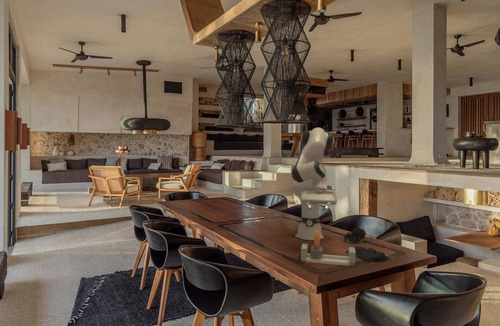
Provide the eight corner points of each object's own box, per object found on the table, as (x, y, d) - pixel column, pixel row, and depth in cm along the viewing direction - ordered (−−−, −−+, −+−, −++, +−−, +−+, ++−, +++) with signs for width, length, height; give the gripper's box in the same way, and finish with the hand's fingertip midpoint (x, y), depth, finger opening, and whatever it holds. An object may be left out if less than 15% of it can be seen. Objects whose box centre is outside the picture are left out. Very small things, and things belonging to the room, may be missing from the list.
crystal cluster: (339, 242, 244) (340, 227, 242) (348, 236, 254) (349, 222, 252) (358, 247, 235) (359, 232, 234) (367, 242, 245) (368, 227, 244)
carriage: (311, 251, 208) (311, 228, 207) (322, 252, 207) (323, 228, 206) (310, 255, 200) (311, 231, 199) (322, 256, 199) (322, 232, 198)
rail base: (302, 256, 210) (302, 243, 210) (353, 260, 204) (354, 247, 204) (300, 261, 200) (301, 248, 200) (355, 266, 194) (355, 252, 194)
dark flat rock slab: (363, 250, 226) (363, 242, 226) (391, 260, 206) (391, 252, 206) (343, 252, 219) (343, 244, 219) (370, 264, 199) (370, 255, 199)
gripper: (300, 185, 218) (299, 205, 209) (337, 187, 214) (336, 207, 205) (301, 192, 223) (299, 211, 214) (336, 193, 218) (336, 213, 209)
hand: (318, 209), depth 209 cm, fingers open, 8 cm apart
